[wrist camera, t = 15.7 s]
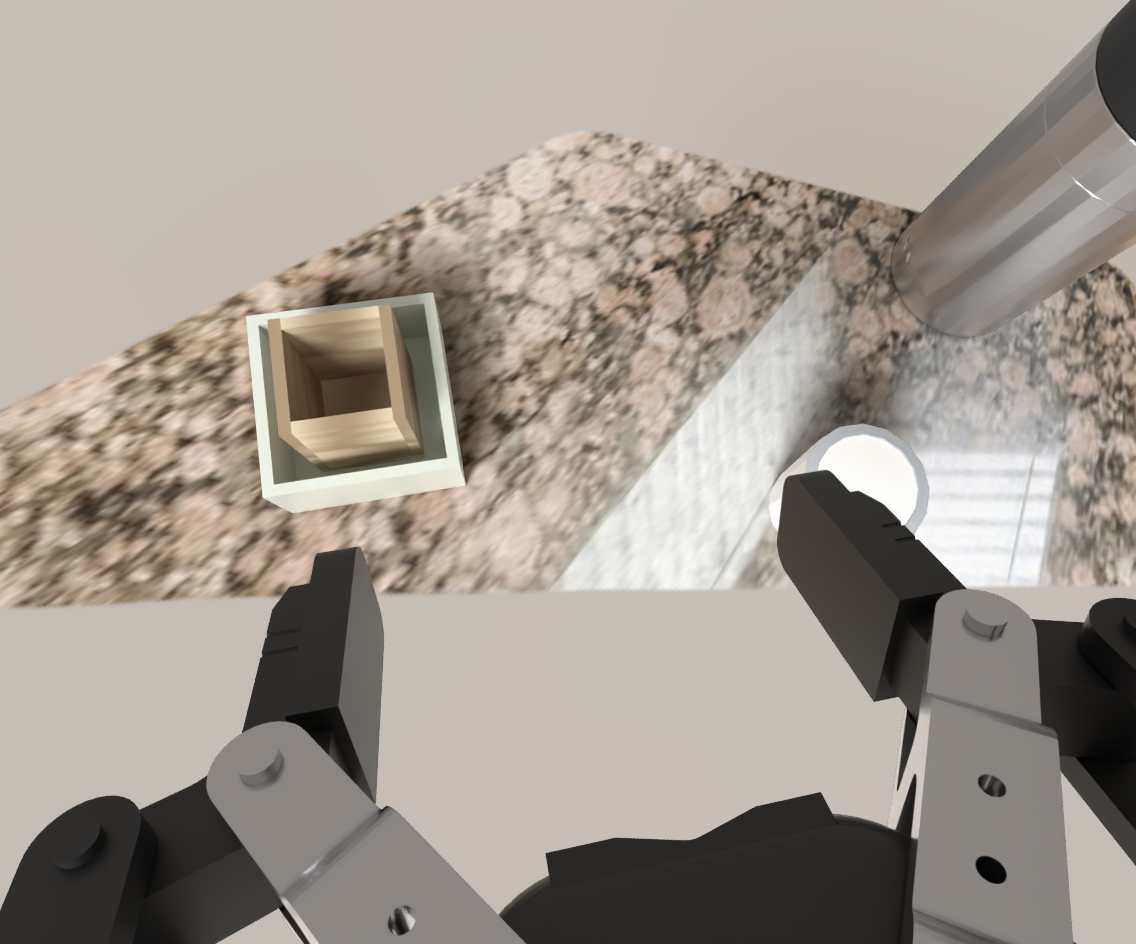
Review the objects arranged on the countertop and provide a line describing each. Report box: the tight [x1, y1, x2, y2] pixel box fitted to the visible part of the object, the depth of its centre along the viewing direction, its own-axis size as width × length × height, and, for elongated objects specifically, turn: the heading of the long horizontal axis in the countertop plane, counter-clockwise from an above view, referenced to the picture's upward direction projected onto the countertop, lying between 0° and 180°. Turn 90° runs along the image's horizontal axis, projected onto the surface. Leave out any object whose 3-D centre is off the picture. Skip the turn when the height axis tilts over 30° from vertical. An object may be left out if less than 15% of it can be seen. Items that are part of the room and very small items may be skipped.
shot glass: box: [769, 424, 929, 534], centre depth 40 cm, size 7×7×7 cm
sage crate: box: [246, 292, 466, 513], centre depth 40 cm, size 10×10×5 cm
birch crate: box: [267, 304, 425, 472], centre depth 38 cm, size 6×6×8 cm
